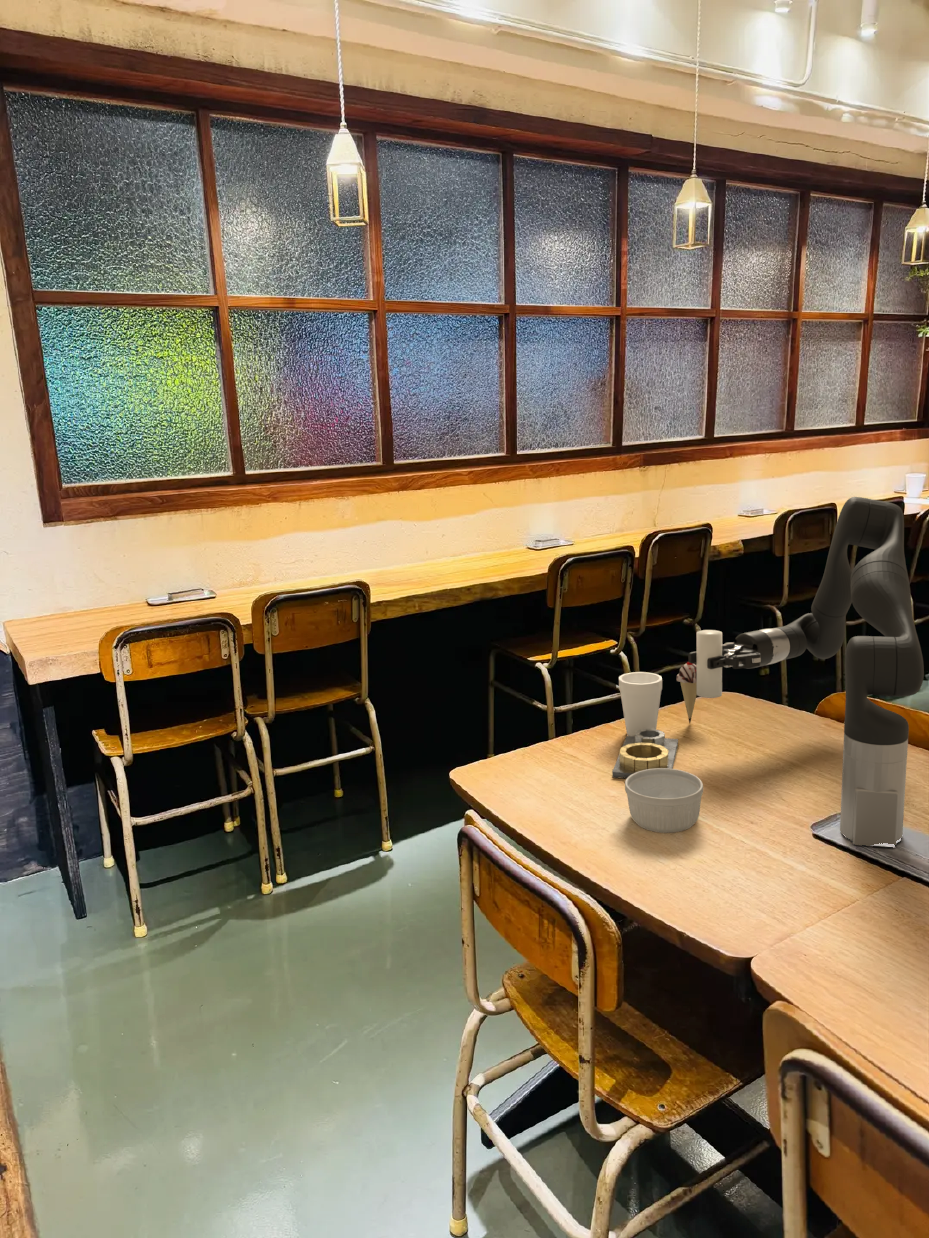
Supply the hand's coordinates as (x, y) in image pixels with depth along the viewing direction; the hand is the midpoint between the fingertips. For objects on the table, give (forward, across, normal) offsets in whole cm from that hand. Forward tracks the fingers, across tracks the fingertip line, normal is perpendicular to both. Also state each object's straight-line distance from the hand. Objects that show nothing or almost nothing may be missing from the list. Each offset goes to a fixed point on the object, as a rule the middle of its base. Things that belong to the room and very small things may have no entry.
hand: (699, 661), depth 171 cm
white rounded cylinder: (-3, 0, +8) cm, 8 cm away
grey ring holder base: (+11, -4, +20) cm, 23 cm away
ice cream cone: (-11, -15, +20) cm, 27 cm away
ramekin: (+25, +19, +21) cm, 37 cm away
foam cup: (+2, -16, +20) cm, 26 cm away
